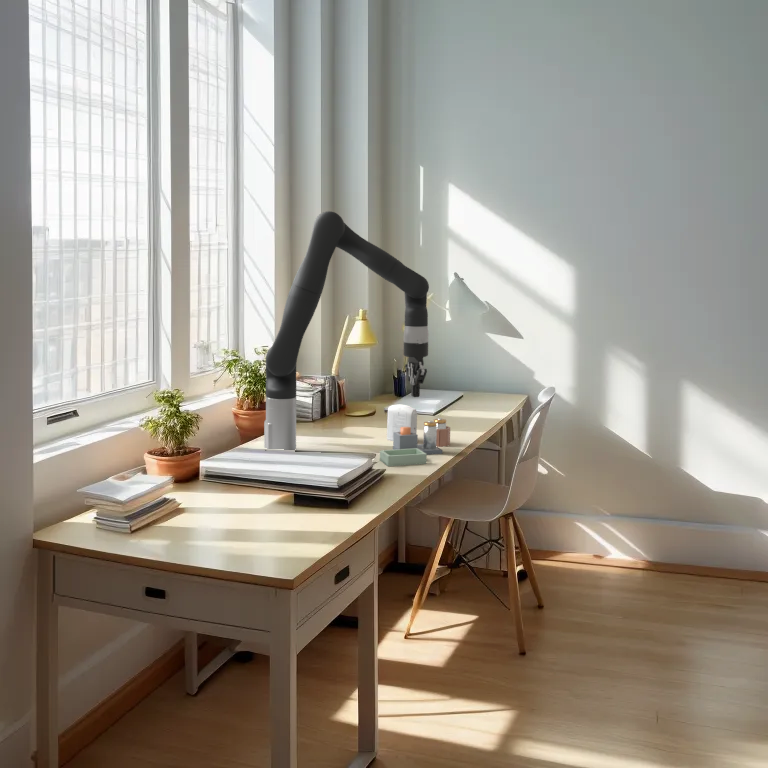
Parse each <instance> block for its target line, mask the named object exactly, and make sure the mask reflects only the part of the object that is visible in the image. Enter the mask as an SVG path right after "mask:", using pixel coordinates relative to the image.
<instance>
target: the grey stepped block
mask: <svg viewBox="0 0 768 768" xmlns="http://www.w3.org/2000/svg"><path fill="white" fill-rule="evenodd" d="M418 436H419V435H418V434H417V433H416V434H415V433H414V432H412V431H411V435H401V434H400V432H394V434H393V441H392V442H393V443H392V444H393V445H392V450H396V449H412V448H418V449H419V450H421V451H423V452H424V453H426V454H427V455H429V456H430V455H441V454H443V449H442V448H441V447H436V449H433V450H428V449H424V448H423V443H422V444H421V443H420V444H419V443H418V441H419V440H418Z"/></svg>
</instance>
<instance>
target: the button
mask: <svg viewBox="0 0 768 768" xmlns="http://www.w3.org/2000/svg"><path fill="white" fill-rule="evenodd" d="M400 434H401V435H411V427H401V428H400Z"/></svg>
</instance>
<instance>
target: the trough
mask: <svg viewBox="0 0 768 768" xmlns="http://www.w3.org/2000/svg"><path fill="white" fill-rule="evenodd" d="M427 458H428V457H427V454H426V453H424V452H423V451H421V450H419V449H418V448H412V449H396V450H393V449H385V450H384V449H382V450H379V461H380V462H382V463H383V464H384V465H385V466H387V467H399V466H414V465H426V464H427Z"/></svg>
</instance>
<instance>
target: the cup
mask: <svg viewBox="0 0 768 768" xmlns="http://www.w3.org/2000/svg"><path fill="white" fill-rule="evenodd" d="M448 445H449V446H450V445H451V427H450V426H448V425H446V429H437V438H436V446H437V447H438V448H441V447H443V446H446V447H448Z"/></svg>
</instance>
